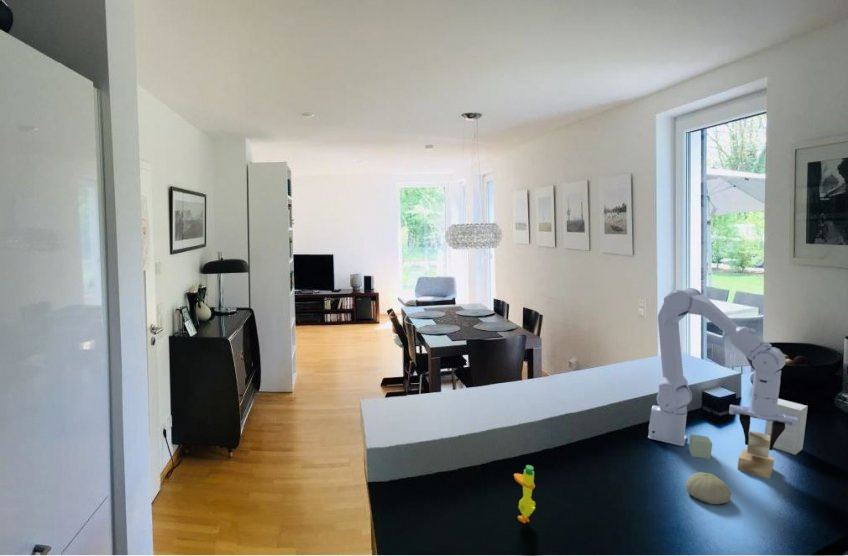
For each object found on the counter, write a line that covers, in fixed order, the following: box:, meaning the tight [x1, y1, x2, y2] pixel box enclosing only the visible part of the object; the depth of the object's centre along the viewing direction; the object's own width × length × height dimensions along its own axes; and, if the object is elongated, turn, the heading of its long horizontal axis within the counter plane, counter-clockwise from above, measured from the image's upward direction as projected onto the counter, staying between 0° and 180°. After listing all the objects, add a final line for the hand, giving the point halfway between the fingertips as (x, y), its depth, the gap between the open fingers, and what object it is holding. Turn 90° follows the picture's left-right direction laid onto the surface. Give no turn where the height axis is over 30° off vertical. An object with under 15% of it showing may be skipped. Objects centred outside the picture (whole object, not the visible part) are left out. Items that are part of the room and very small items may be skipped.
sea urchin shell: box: [685, 471, 732, 505], centre depth 121 cm, size 9×8×8 cm
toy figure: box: [513, 464, 536, 524], centre depth 108 cm, size 7×4×12 cm, turn 30°
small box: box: [764, 398, 809, 456], centre depth 149 cm, size 8×6×13 cm
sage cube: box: [688, 433, 713, 460], centre depth 143 cm, size 4×4×4 cm
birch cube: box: [746, 430, 770, 458], centre depth 134 cm, size 4×4×4 cm
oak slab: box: [737, 448, 775, 480], centre depth 135 cm, size 7×7×4 cm
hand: (758, 446), depth 135 cm, fingers closed on birch cube, 4 cm apart
